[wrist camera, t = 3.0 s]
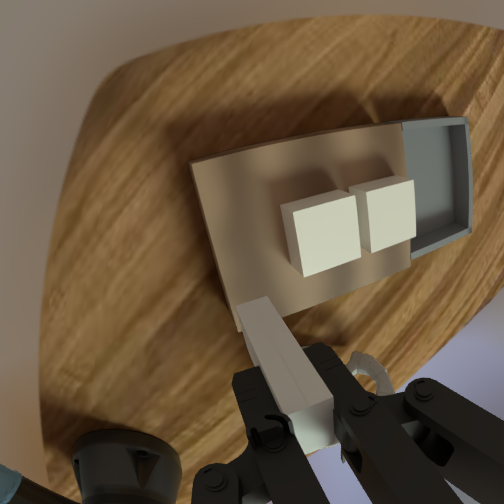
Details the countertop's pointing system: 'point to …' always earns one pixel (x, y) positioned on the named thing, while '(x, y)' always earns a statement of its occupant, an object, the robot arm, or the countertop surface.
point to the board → (284, 191)
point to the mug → (374, 370)
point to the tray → (439, 179)
